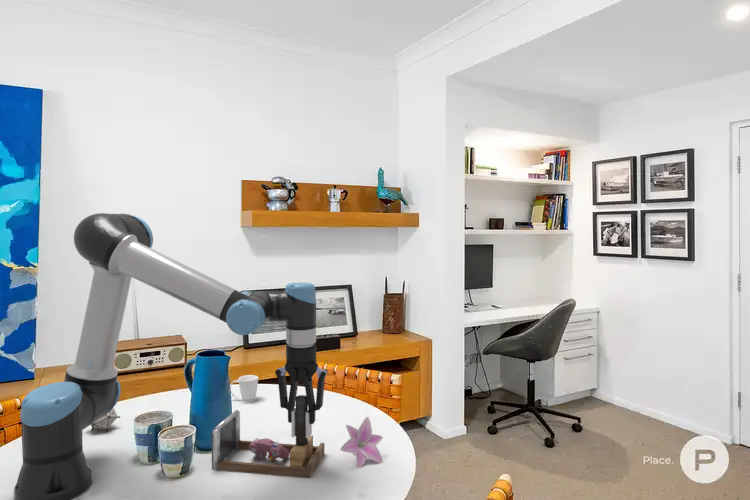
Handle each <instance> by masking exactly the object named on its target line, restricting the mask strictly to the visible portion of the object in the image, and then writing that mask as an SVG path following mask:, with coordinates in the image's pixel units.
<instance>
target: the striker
mask: <svg viewBox="0 0 750 500" xmlns="http://www.w3.org/2000/svg"><path fill="white" fill-rule="evenodd" d="M295 405H296V406H295V408H296V436H295V444H294V447H293V448H292V449H291V451H290V453H289V466H295V467H306V465H307V464H308V462H309V461H310V459H311V457H312V456H313V446H314V435H311V436H310V437H309V438H306V412H307V411H308V403H307V397H306V394H301V395H296V401H295Z"/></svg>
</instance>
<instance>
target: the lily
mask: <svg viewBox="0 0 750 500" xmlns="http://www.w3.org/2000/svg"><path fill="white" fill-rule="evenodd" d="M345 428H346V430H347V431H346V432H347V433H348V435H349V439H348V440H347V441H346V442H345V443H343V445H342V446H341V447H340V449H339V450H340V451H341V452H343V453H350V454H353V456H354V455H355V459H356V463H357V467H358V469H361V467H362V466H363V465H364V463H365V461H366V459H367V458H368V459H370V460H372V461H374V462H376V463H379V464H383V463H384V461H383V457H382V454H381V452H380V450H379V448H378V446H377V445H379V443H381V441H382V440H383V439H384V437H383V436H382V435H379V434H374V433H373V428H372V424H371V420H370V417H369V416H366V417H365V418H364V419H363V421H362V422H361V424H360V426H359V427H358V428H356V427H354V426H352V425H350V424H346V425H345Z"/></svg>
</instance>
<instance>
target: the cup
mask: <svg viewBox="0 0 750 500" xmlns="http://www.w3.org/2000/svg"><path fill="white" fill-rule="evenodd" d="M233 383H238V384H239V390H240V394H241V398H239V397H237V396H236V395H235V394H234V393H233V391H232V390H231V394H232V395H231V394H230V395H231V396H232V397H233V398H235V399H236V400H238V401H240V402H242V403H244V404H245V403H246V404H248V403H254V402H255V399H256V395H257V391H258V383H259V376H258V375H256V374H255V375H253V374H248V375H247V374H246V375H242V376H239V377H238V379H235V380H232V381H231V383H230V385H231V387H232V386H233Z"/></svg>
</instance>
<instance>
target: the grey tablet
mask: <svg viewBox="0 0 750 500" xmlns="http://www.w3.org/2000/svg"><path fill="white" fill-rule="evenodd" d="M210 438H211V469H213V471H219V470H218V462H219V461H220V460H223V461H225V460H226V459H227V458H228V457H229V456H230V455H231V454H232V453H233V452H234V451H235V450H240V449H239V441H240V440H241V412H240V411H239V410H238V409H236V410H234V411H233V412H232V413H230V415H228V416H227V417H226V418H224V419H223V420H222V421H221V422H220V423H218V425H216V426H215V427H214V428H213V429H212V432H211V437H210ZM233 450H234V451H233ZM232 451H233V452H232ZM231 452H232V453H231ZM230 453H231V454H230ZM229 454H230V455H229ZM228 455H229V456H228ZM226 457H227V458H226ZM225 458H226V459H225ZM224 459H225V460H224Z"/></svg>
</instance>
